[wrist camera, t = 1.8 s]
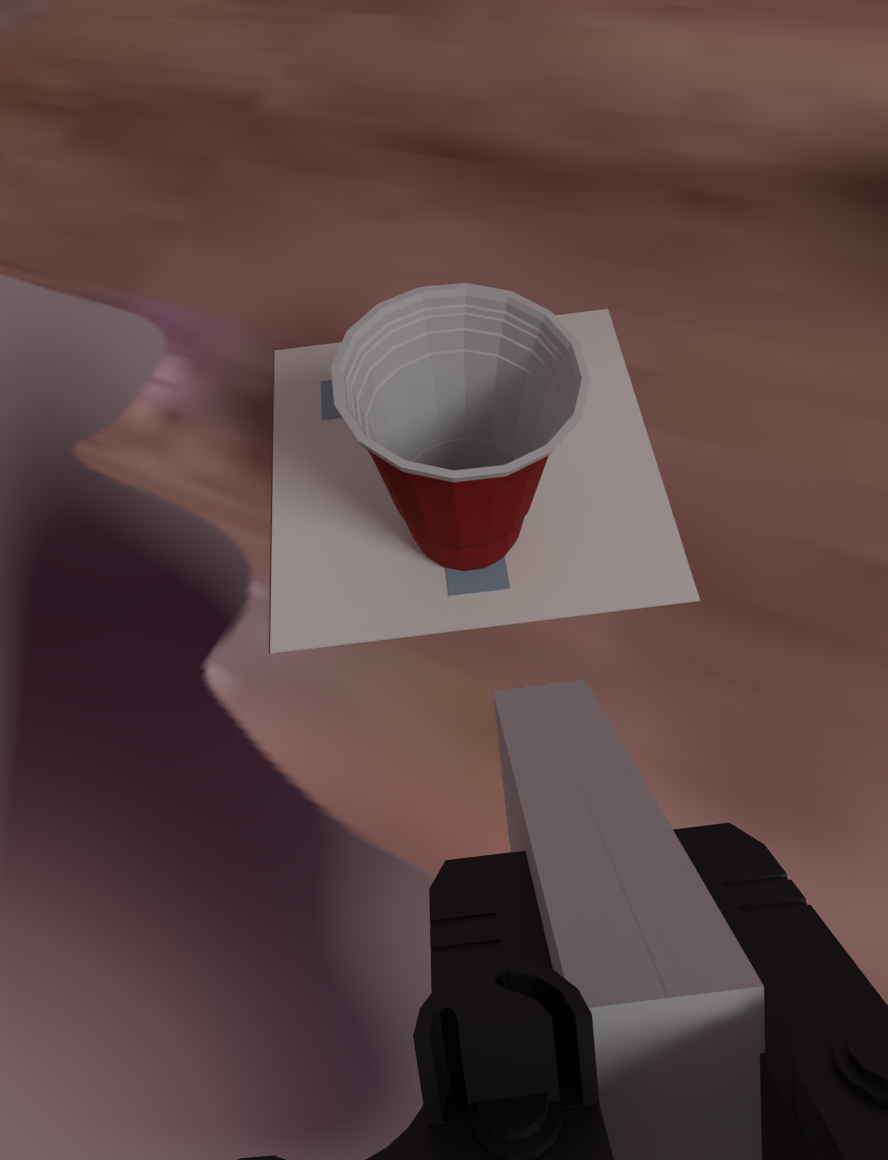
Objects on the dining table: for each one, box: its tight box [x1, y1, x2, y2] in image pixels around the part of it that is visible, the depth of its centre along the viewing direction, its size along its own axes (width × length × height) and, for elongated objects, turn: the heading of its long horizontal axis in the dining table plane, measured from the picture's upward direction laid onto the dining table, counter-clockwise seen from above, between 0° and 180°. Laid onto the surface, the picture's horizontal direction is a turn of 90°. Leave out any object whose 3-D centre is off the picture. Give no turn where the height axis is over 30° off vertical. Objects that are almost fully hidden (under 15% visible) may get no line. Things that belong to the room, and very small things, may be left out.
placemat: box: [270, 309, 700, 654], centre depth 45 cm, size 22×22×1 cm
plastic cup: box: [331, 283, 590, 571], centre depth 37 cm, size 11×11×12 cm
